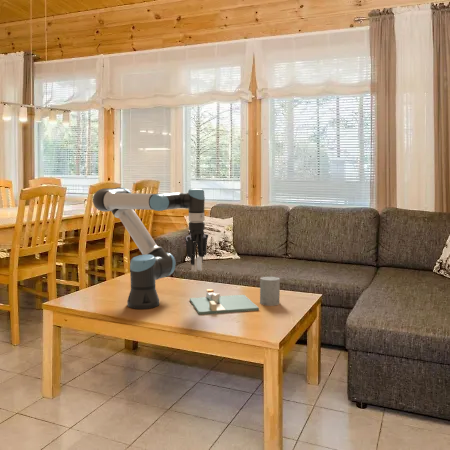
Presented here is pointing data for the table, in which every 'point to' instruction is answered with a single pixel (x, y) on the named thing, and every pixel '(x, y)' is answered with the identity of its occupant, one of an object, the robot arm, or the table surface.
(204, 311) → the board
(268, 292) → the speckled grey cylinder
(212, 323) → the table surface
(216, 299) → the bar
